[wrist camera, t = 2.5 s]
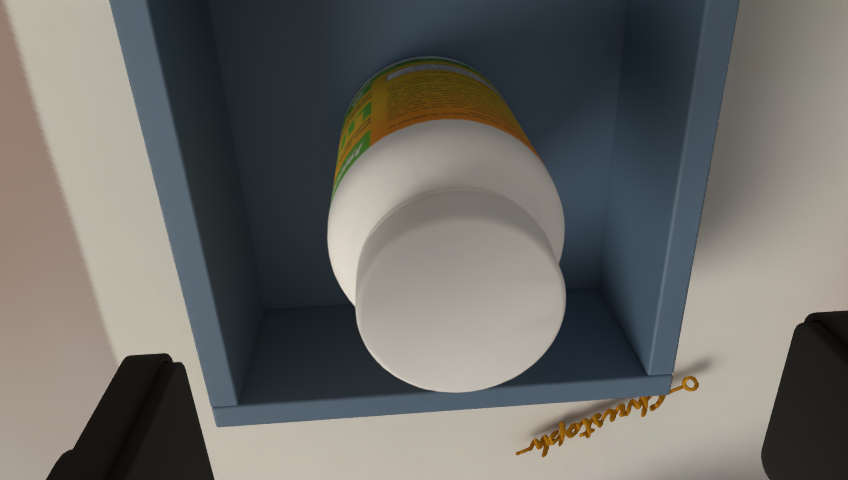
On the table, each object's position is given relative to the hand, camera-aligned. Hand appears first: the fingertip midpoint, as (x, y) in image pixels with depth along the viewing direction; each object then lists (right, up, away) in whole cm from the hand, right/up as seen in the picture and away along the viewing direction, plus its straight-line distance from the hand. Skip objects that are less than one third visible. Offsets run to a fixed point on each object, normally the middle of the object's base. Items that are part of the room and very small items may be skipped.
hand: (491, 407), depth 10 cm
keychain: (+6, -4, +17) cm, 19 cm away
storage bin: (-1, +6, +11) cm, 13 cm away
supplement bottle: (-1, +6, +11) cm, 12 cm away
